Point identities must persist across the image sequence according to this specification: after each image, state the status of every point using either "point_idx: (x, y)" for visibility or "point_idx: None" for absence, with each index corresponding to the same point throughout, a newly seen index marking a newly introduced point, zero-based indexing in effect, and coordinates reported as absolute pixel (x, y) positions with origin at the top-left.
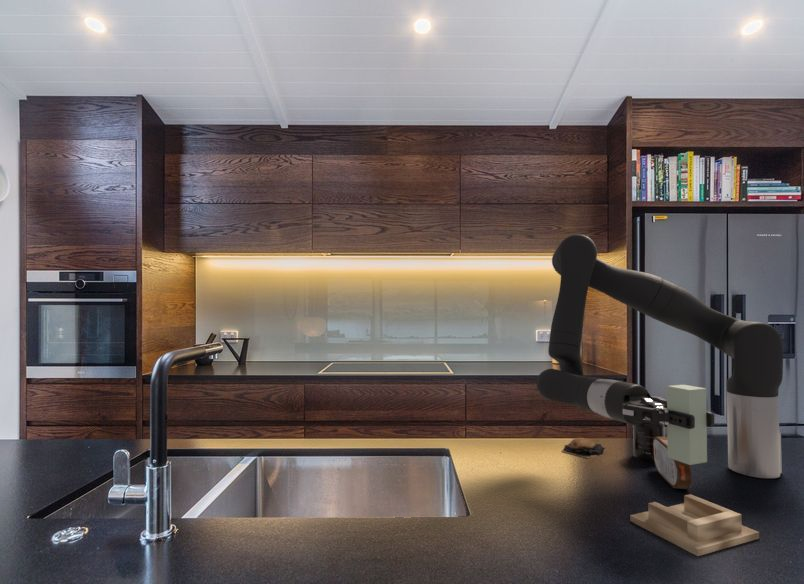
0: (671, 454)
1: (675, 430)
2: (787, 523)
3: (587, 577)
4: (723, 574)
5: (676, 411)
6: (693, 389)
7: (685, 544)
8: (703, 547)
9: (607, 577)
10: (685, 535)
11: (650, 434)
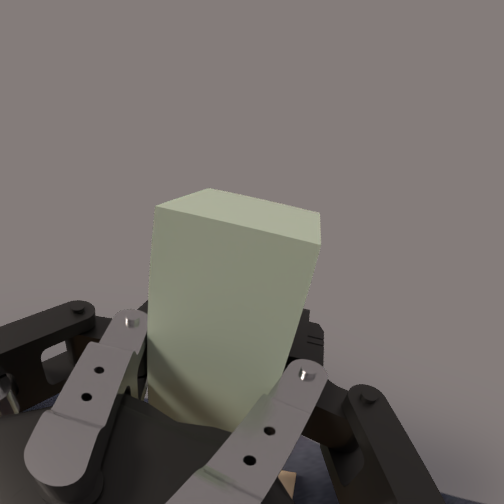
0: None
1: None
2: (52, 398)
3: (462, 498)
4: (308, 444)
5: (292, 343)
6: (286, 205)
7: (293, 490)
8: (281, 470)
9: (443, 493)
10: None
11: None
